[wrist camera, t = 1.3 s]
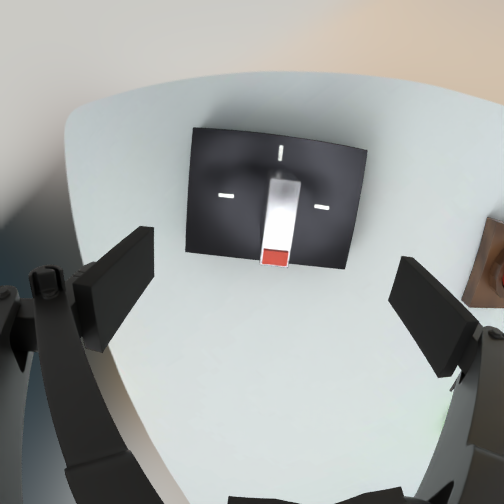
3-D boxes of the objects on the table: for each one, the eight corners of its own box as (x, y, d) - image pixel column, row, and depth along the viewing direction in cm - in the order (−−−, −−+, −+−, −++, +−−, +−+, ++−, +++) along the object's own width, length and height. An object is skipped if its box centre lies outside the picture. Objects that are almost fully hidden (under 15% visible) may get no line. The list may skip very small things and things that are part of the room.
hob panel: (199, 128, 28) (192, 127, 25) (358, 148, 28) (368, 150, 25) (191, 242, 32) (184, 252, 30) (338, 258, 33) (345, 270, 30)
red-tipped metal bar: (267, 166, 26) (270, 178, 19) (289, 169, 26) (301, 182, 19) (259, 230, 29) (259, 266, 21) (280, 233, 29) (288, 269, 21)
